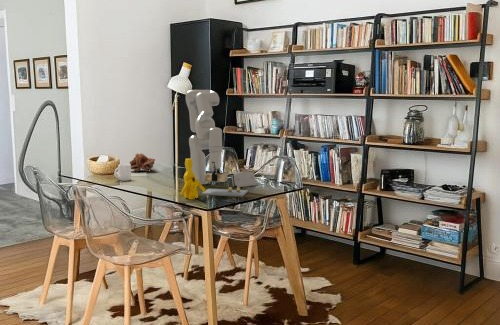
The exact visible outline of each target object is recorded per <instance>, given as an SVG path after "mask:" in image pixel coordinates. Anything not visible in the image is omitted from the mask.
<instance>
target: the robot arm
mask: <svg viewBox="0 0 500 325" xmlns="http://www.w3.org/2000/svg"><path fill="white" fill-rule="evenodd" d="M185 103H186V106H187V109H188V112H189V126H190V131H191V132H192V133H196V134H193V135H191V136H190V137H189V138H188V145H189V152H190V159H192V162H193V166H192V172H193V173H194V174H195V179H198V181H199V182H200V184H201V185H202V186H204V185H208V184H209V181H205V174H207V173H206V172H207V171H206V164H207V163H206V159H207V158H206V155H205V152H203V150H209V151H208V152H209V159H208V160H209V162H208V164H209V165H208V166H209V167H208V169H209V170H211V173H212V181H217V173H221V169H222V152H223V130H222V128H220V127H218V126H217V127H216V123H215V120H214V119H213V115H214V111H213V107H215V106H218V105H219V104H220V96H219V94H218V93H217V92H216V91H214V90H211V89H190V90H187V91H186V93H185Z"/></svg>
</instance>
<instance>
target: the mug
mask: <svg viewBox="0 0 500 325" xmlns="http://www.w3.org/2000/svg"><path fill="white" fill-rule="evenodd" d="M117 166H118V167H116V168H115V169H114V172H113V173H114V174H113V175H114V177H115V178H116V179H118V180H119V181H121V182H126V181H131V180H132V169H131V164H130V163H120V164H118V165H117ZM117 171H118V172H117ZM117 173H118V174H117Z"/></svg>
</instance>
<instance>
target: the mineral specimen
mask: <svg viewBox="0 0 500 325" xmlns="http://www.w3.org/2000/svg"><path fill="white" fill-rule="evenodd" d="M155 161H156V159H155V158H153V157H148V156H146V155H145V154H144V153H136V154H135V155H134V157H133V159H132V160H131V161H130V162H129V164H131V171H132V170H133V171H134V172H140V171H141V170H142V169H145V170H144V171H146V172H147V171H149V170H150V171H151V170H152V168H154V164H155ZM150 171H149V172H150Z"/></svg>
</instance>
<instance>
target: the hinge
mask: <svg viewBox="0 0 500 325" xmlns="http://www.w3.org/2000/svg"><path fill="white" fill-rule="evenodd" d="M231 180H232V187H236V188H237V187H239V188H243V187H251V186H256V185H257V186H258V184H259V183H258V181H257V179H256V177H255V174H254V172H253V171H248V170H245V171H244V170H243V171H242V170H241V171H240V172H237V173H234V174H233V175H232V176H231Z"/></svg>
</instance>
